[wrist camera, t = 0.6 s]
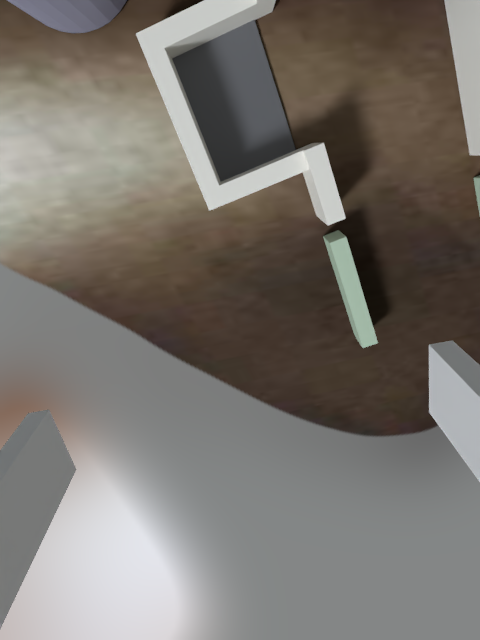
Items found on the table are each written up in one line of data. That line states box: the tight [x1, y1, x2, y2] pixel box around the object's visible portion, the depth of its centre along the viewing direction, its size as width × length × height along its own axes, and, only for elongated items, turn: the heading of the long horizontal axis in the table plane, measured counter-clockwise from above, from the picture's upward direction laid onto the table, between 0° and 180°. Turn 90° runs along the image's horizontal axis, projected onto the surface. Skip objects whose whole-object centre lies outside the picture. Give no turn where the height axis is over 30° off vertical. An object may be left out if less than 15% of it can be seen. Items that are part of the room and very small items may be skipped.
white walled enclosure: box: [136, 0, 480, 225], centre depth 31 cm, size 22×24×5 cm
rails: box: [323, 175, 480, 348], centre depth 38 cm, size 11×16×3 cm
